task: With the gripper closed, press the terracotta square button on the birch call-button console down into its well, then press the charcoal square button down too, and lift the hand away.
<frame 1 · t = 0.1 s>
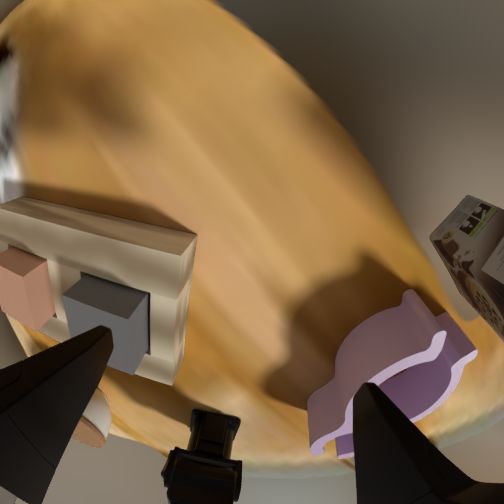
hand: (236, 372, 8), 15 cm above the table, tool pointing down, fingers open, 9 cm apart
charcoal button: (108, 323, 20), point 6 cm above the table, slide at 0.0 cm
lidded jar: (92, 392, 34), on the table
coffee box: (464, 247, 21), on the table
button console: (91, 276, 25), on the table
clip: (372, 366, 27), on the table
terracotta button: (23, 286, 19), point 6 cm above the table, slide at 0.0 cm
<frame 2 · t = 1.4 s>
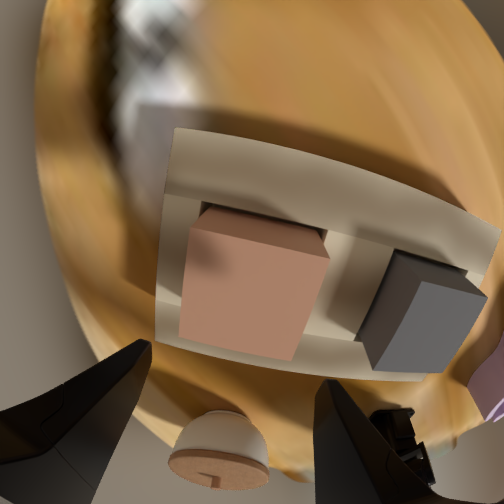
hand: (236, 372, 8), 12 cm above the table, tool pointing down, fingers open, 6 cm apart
charcoal button: (422, 316, 14), point 6 cm above the table, slide at 0.0 cm
lidded jar: (226, 422, 28), on the table
button console: (329, 261, 20), on the table
terracotta button: (249, 283, 14), point 6 cm above the table, slide at 0.0 cm
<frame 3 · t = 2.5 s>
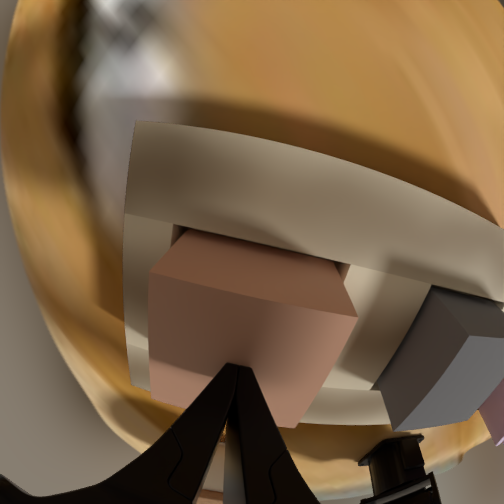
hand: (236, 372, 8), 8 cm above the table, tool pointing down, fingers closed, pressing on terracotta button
charcoal button: (454, 362, 10), point 6 cm above the table, slide at 0.0 cm
lidded jar: (221, 451, 24), on the table
button console: (343, 291, 15), on the table
terracotta button: (241, 335, 10), point 6 cm above the table, slide at 0.2 cm, touching gripper
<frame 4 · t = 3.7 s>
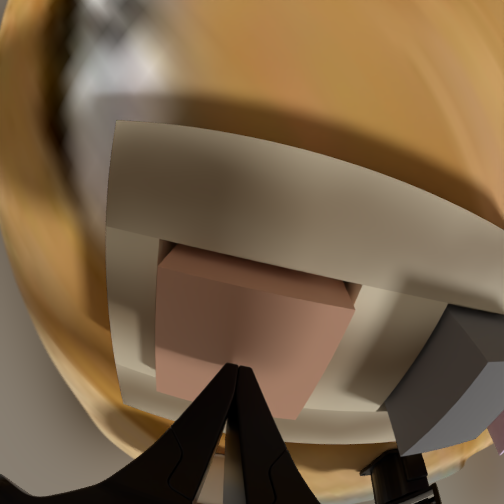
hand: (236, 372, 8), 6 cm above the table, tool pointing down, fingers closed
charcoal button: (465, 382, 9), point 6 cm above the table, slide at 0.0 cm
lidded jar: (220, 462, 23), on the table
button console: (350, 306, 14), on the table
terracotta button: (244, 328, 11), point 4 cm above the table, slide at 2.2 cm
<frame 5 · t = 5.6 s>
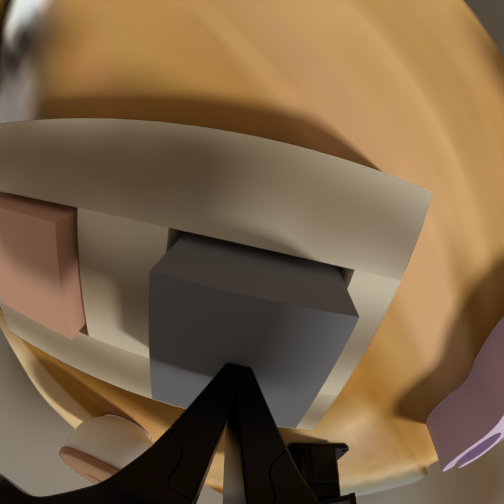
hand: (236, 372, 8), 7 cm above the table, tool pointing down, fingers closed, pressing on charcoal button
charcoal button: (242, 334, 10), point 5 cm above the table, slide at 0.7 cm, touching gripper
lidded jar: (127, 428, 24), on the table
button console: (156, 253, 15), on the table
clip: (496, 360, 17), on the table
terracotta button: (44, 255, 11), point 4 cm above the table, slide at 2.2 cm
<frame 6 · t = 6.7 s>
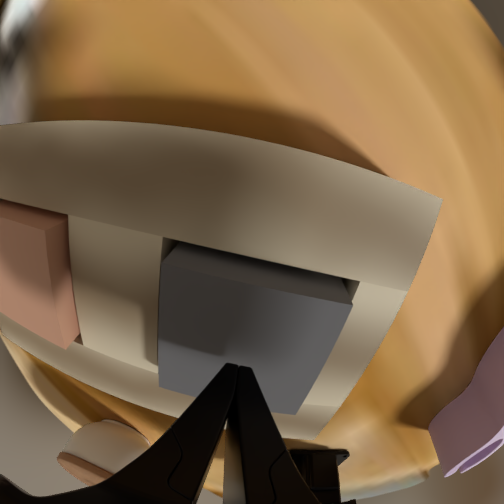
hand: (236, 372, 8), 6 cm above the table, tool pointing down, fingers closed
charcoal button: (245, 324, 11), point 4 cm above the table, slide at 2.2 cm
lidded jar: (125, 433, 23), on the table
button console: (152, 260, 14), on the table
clip: (499, 366, 17), on the table
terracotta button: (37, 262, 11), point 4 cm above the table, slide at 2.2 cm
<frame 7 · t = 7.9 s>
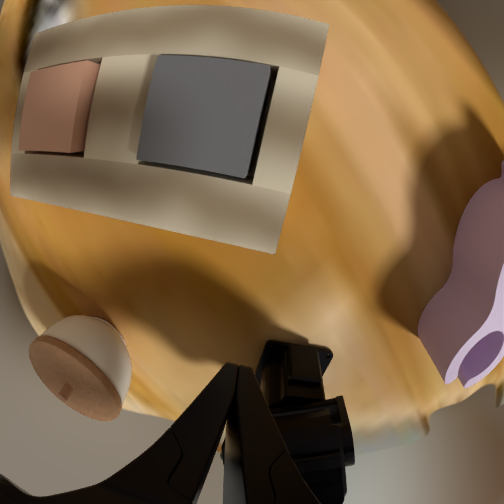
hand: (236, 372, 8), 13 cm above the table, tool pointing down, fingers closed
charcoal button: (207, 114, 14), point 4 cm above the table, slide at 2.2 cm
lidded jar: (104, 337, 26), on the table
button console: (147, 112, 17), on the table
clip: (481, 262, 20), on the table
terracotta button: (64, 108, 14), point 4 cm above the table, slide at 2.2 cm
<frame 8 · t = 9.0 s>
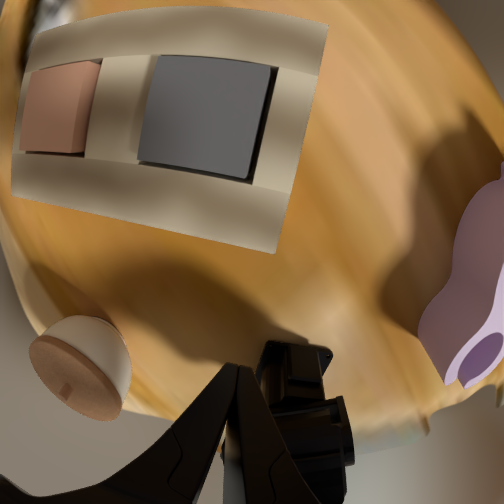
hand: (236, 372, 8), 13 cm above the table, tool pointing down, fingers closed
charcoal button: (207, 115, 14), point 4 cm above the table, slide at 2.2 cm
lidded jar: (104, 338, 26), on the table
button console: (148, 112, 17), on the table
clip: (481, 263, 20), on the table
terracotta button: (65, 108, 14), point 4 cm above the table, slide at 2.2 cm
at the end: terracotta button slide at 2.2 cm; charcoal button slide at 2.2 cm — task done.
